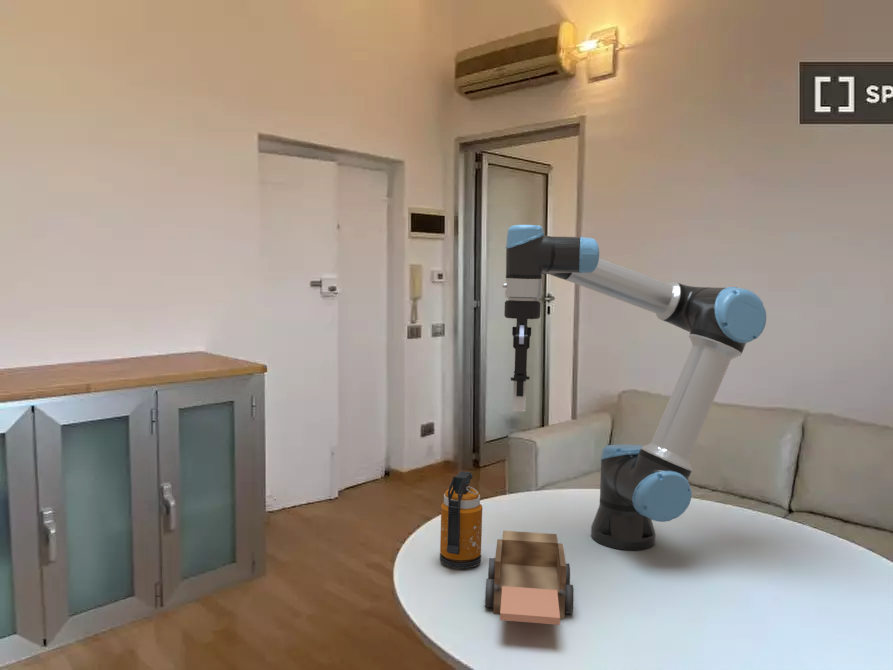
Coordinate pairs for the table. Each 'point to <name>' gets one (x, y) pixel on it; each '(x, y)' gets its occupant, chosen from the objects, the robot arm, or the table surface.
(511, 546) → the truck
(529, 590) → the panel
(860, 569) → the table surface
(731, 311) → the robot arm
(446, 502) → the canister
